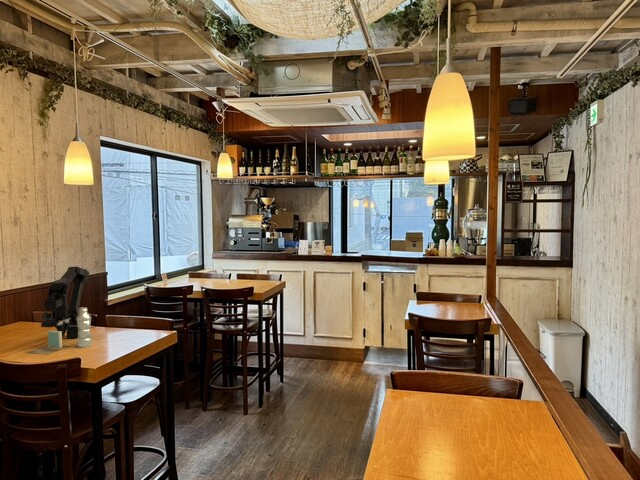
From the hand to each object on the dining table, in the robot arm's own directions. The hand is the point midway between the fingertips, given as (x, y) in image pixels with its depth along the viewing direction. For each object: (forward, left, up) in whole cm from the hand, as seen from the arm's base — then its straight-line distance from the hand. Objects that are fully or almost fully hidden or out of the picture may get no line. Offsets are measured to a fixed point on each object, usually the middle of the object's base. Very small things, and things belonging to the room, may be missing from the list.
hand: (62, 336), depth 218 cm
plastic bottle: (0, +14, -5) cm, 15 cm away
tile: (+4, 0, -4) cm, 6 cm away
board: (+8, 0, -4) cm, 9 cm away
